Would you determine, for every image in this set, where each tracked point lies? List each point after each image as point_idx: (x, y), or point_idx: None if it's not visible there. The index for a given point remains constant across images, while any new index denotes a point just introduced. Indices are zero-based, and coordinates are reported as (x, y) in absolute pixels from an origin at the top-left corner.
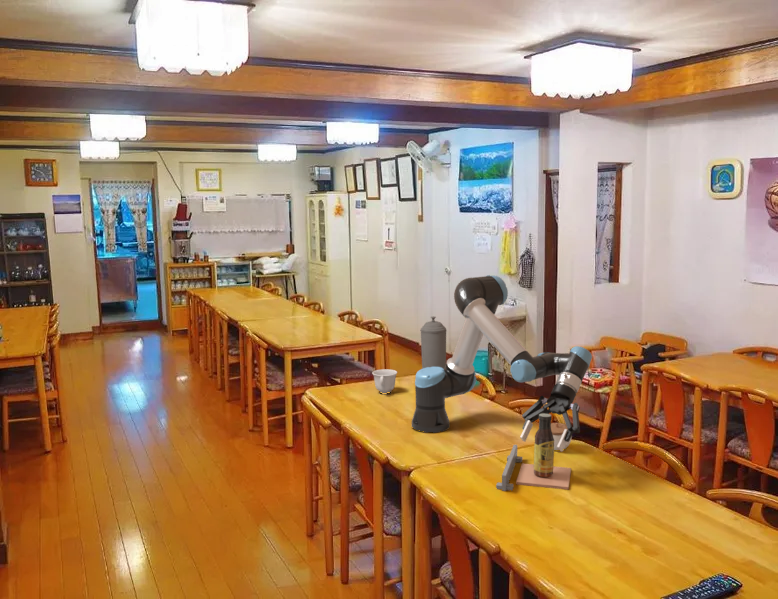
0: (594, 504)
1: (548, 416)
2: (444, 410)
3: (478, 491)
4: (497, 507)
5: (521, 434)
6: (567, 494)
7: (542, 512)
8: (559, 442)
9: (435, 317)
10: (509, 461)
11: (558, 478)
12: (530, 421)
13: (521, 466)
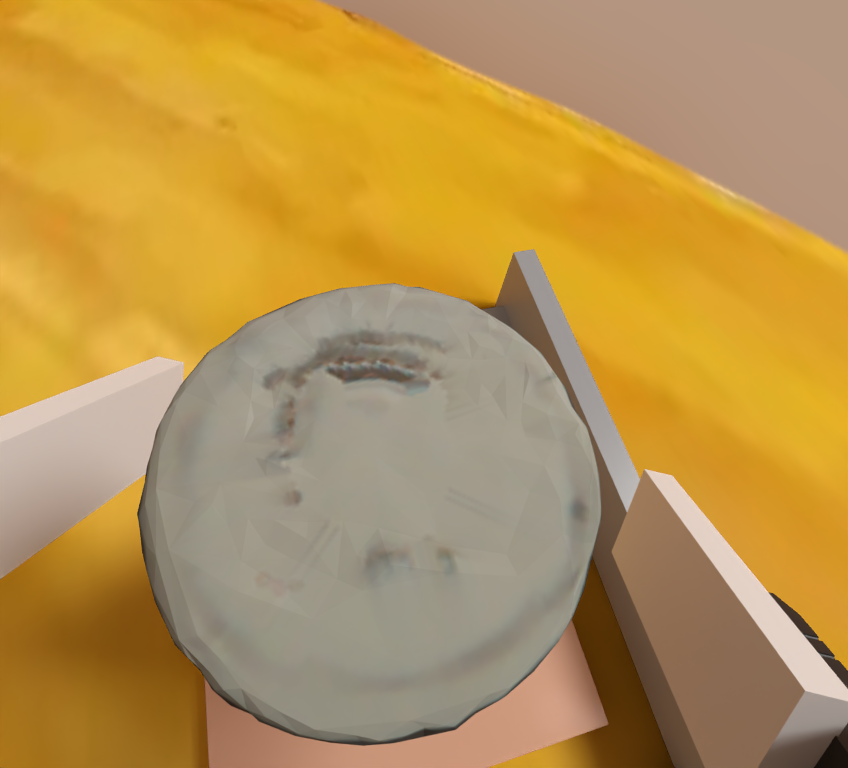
0: (44, 346)
1: (227, 350)
2: None
3: (594, 260)
4: (453, 176)
5: (684, 493)
6: None
7: (278, 198)
8: (137, 378)
9: None
10: (613, 453)
11: None
12: (785, 711)
13: (581, 652)
